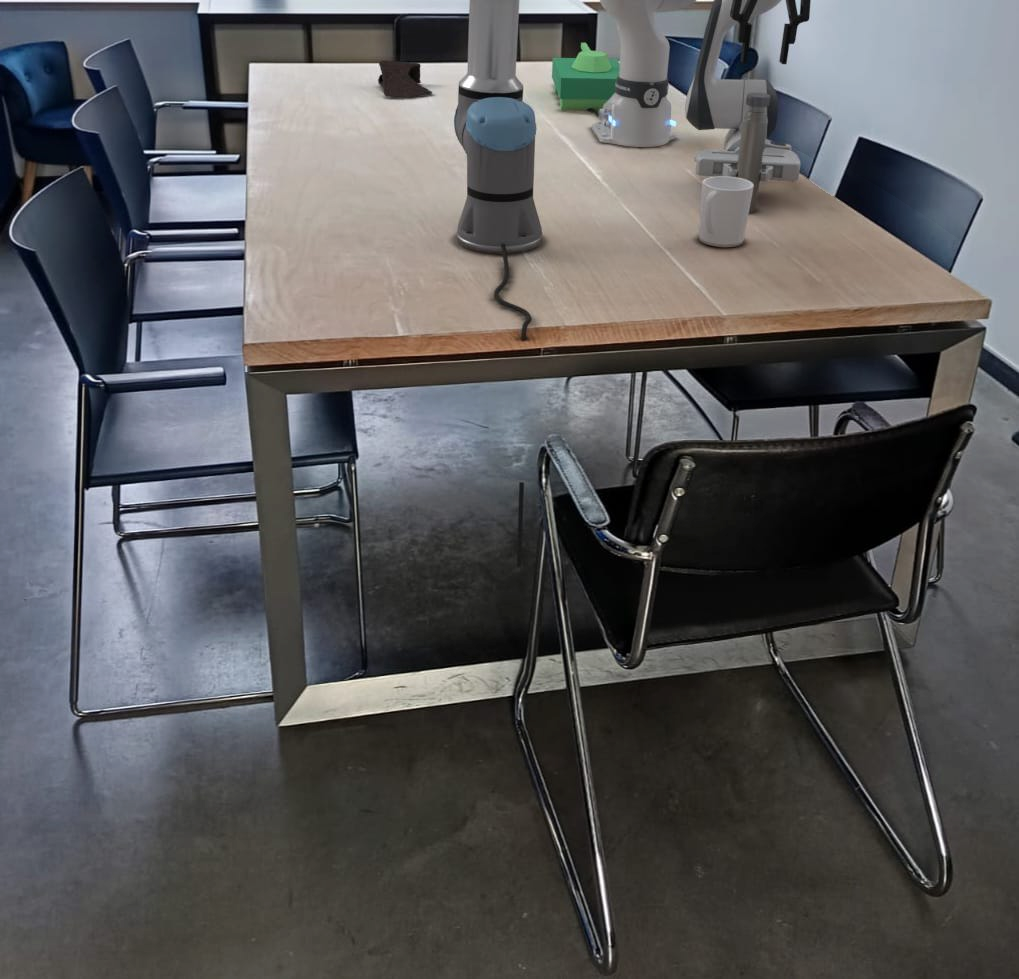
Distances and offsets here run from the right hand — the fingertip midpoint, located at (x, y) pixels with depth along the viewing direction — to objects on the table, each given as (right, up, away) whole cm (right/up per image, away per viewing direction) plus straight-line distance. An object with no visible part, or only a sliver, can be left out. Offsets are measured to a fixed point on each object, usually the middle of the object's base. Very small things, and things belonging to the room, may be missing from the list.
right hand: (748, 176), depth 210 cm
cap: (0, +13, -7) cm, 15 cm away
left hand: (+1, +18, -10) cm, 21 cm away
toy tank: (-25, +46, +87) cm, 101 cm away
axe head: (-75, +49, +90) cm, 127 cm away
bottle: (0, -5, +4) cm, 7 cm away
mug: (-8, -16, -13) cm, 22 cm away
